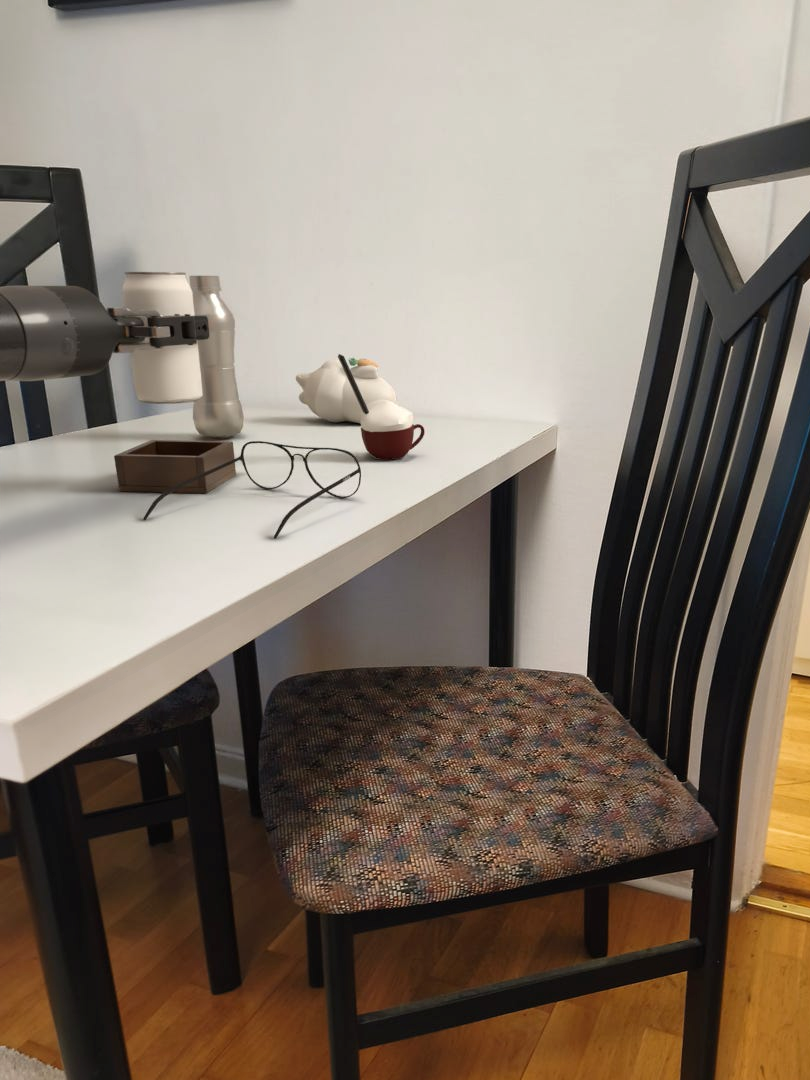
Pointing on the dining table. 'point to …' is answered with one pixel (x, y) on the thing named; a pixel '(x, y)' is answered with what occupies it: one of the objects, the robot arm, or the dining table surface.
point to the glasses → (273, 487)
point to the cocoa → (384, 424)
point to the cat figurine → (343, 390)
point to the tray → (174, 465)
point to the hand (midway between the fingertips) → (177, 326)
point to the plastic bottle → (216, 363)
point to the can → (171, 367)
